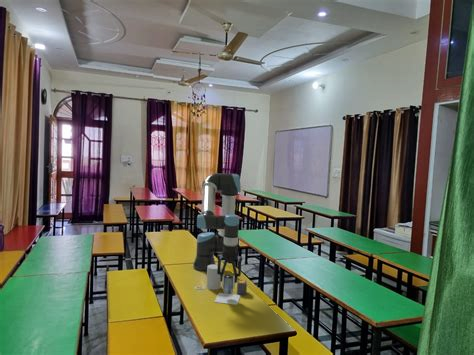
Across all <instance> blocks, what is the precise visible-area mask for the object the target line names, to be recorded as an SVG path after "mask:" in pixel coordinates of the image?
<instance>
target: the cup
mask: <svg viewBox="0 0 474 355" xmlns="http://www.w3.org/2000/svg"><path fill="white" fill-rule="evenodd" d="M217 268H218V264H216V265H215V264H212V265H208V266H207V271H206V289H208V290H210V291H217V290H219V289H222V282H221V281H220V278H221V276H220V275H219V274H217ZM222 268H223V265H221V269H220V272H221V271H222Z"/></svg>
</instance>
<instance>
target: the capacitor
mask: <svg viewBox="0 0 474 355" xmlns="http://www.w3.org/2000/svg"><path fill="white" fill-rule="evenodd" d="M224 275H225V276H224V288H223V289H222V290H223V292H222V293H225V294H233V292H234V290H233V277H234V275H233V274H224Z"/></svg>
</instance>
